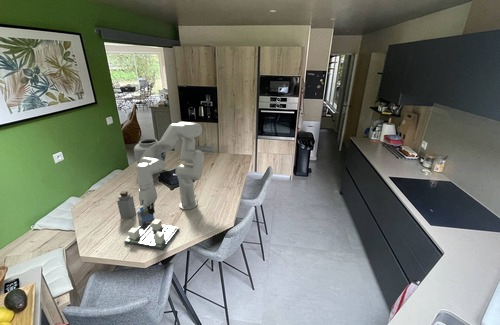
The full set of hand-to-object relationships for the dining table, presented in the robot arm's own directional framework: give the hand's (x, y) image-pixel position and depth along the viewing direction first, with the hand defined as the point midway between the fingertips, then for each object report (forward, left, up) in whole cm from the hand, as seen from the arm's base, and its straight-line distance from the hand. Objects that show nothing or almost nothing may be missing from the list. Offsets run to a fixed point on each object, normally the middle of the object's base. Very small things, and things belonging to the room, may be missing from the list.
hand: (151, 213), depth 137 cm
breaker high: (+7, +8, -13) cm, 17 cm away
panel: (+2, 0, -15) cm, 15 cm away
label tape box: (-11, -13, -15) cm, 23 cm away
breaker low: (+7, -8, -13) cm, 17 cm away
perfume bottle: (-13, -28, -15) cm, 34 cm away
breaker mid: (-3, 0, -13) cm, 13 cm away
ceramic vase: (-82, -55, -15) cm, 100 cm away
